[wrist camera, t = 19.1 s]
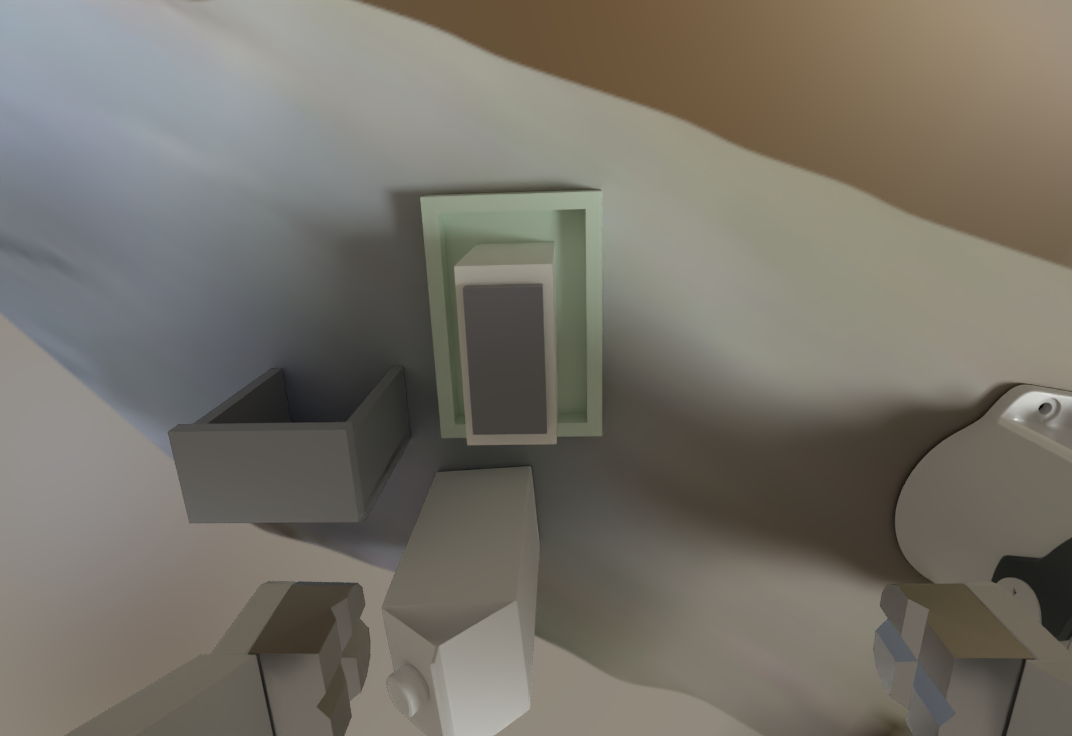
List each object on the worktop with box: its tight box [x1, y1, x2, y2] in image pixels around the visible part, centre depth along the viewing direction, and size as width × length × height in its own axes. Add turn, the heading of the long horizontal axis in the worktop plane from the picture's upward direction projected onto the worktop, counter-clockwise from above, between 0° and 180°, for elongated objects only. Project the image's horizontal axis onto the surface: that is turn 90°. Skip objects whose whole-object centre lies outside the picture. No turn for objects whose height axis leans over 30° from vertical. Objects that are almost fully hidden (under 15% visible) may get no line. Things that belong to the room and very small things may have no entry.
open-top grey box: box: [168, 366, 411, 523], centre depth 39 cm, size 10×6×12 cm, turn 92°
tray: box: [420, 189, 602, 438], centre depth 41 cm, size 11×16×2 cm
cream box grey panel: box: [454, 242, 558, 445], centre depth 37 cm, size 5×10×10 cm, turn 2°
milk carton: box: [382, 466, 540, 736], centre depth 38 cm, size 7×7×19 cm
